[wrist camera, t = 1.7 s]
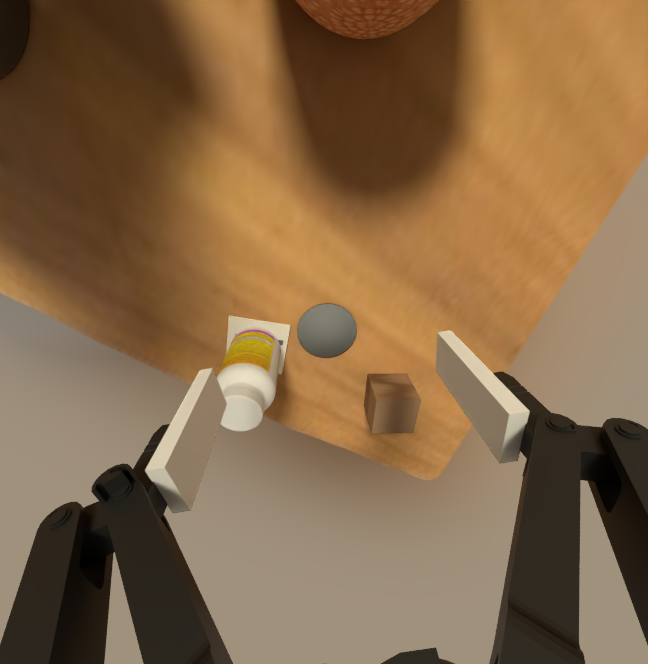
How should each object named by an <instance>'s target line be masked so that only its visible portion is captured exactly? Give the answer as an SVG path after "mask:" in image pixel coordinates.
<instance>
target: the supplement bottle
mask: <svg viewBox="0 0 648 664" xmlns="http://www.w3.org/2000/svg"><path fill="white" fill-rule="evenodd" d="M280 355H281V347H280V344H279V341H278V339H277V338H276V337H275V336H274V335H273V334H272V333H271V332H269V331H267V330H265V329H262V328H255V327H253V328H247V329H244V330H242V331H240V332H239V333H238V334H237V335H236V336H235V337H234V338H233V340H232V342H231V345H230V347H229V349H228V352H227V354H226V357H225V359H224V361H223V364H222V366H221V369H220V371H219V373H218V375H217V380H218V383H219V385H220V388H221V390H222V393H223V395H224V398H225V400H226V403H227V406H226V408H225V411H224V414H223V417H222V420H221V423H220V424H221V425H222V426H224V427H225V428H227V429H230V430H234V431H247V430H250V429H253V428H254V427H256V426H257V425H258V424H259V423H260V422H261V420H262V417H263V413H264V411H265V410H266V409H267V408H268V407H269V406H270V405H271V404H272V402H273V400H274V398H275V394H276V386H277V378H278V370H279V362H280Z"/></svg>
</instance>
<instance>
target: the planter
mask: <svg viewBox="0 0 648 664" xmlns="http://www.w3.org/2000/svg"><path fill="white" fill-rule="evenodd" d="M295 1H296V2H297V3H298V4H299V6H300V7H301V8H302V9H303V10H304V11H305V12H306V13H307V14H308V15H309V16H310V17H311V18H312V19H314V20H315V21H316V22H317V23H319V24H320V25H322V26H323V27H325V28H327V29H328V30H330V31H332V32H334V33H337V34H339V35H342V36H346V37H350V38H356V39H372V38H378V37H383V36H386V35H389V34H392V33H394V32H396V31H399V30H401V29H403V28H404V27H406V26H408V25H409V24H411V23H412V22H414V21H415V20H417V19H418V18H419V17H420V16H422V15H423V14H424V13H426V12H427V11H428V10H429V9H431V8H432V7H433V6H434V5H435V4H436V3H437V2H438V1H439V0H295Z"/></svg>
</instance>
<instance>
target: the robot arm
mask: <svg viewBox="0 0 648 664" xmlns="http://www.w3.org/2000/svg"><path fill="white" fill-rule="evenodd" d="M28 30H29V6H28V0H0V79H1V78H3V77H4V76H5V75H7V74H8V73H9V72H10V71H11V70H12V69H13V68H14V67H15V66H16V64H17V63H18V61H19V60H20V58H21V56H22V54H23V51H24V49H25V45H26V42H27V37H28ZM436 372H437V374H438V375H439V377H440V378H441V379H442V381H443V382H444V384H445V385H446V387H447V388H448V390H449V391H450V393H451V394H452V395H453V397H454V398H455V400H456V401H457V403H458V404H459V406H460V407H461V408H462V410H463V411H464V413H465V414H466V416H467V417H468V419H469V420H470V421H471V423H472V424H473V426H474V427H475V429H476V430H477V431H478V433H479V434H480V436H481V437H482V439H483V440H484V442H485V443H486V445H487V446H488V447H489V449H490V450H491V452H492V453H493V455H494V456H495V458H496V459H497V461H498V462H499V463H506V462H513V461H518V458H519V454H520V451H521V452H522V453H523V455H524V456H525V457H526V458H527V461H526V464H525V469H524V472H523V482H522V487H521V493H520V499H519V505H518V510H517V516H516V522H515V527H514V533H513V539H512V544H511V550H510V555H509V562H508V567H507V572H506V578H505V584H504V590H503V596H502V601H501V607H500V612H499V618H498V624H497V629H496V635H495V640H494V646H493V650H492V655H491V659H490V664H585V660H584V655H583V652H582V651H581V649H580V646H579V561H580V560H579V559H580V554H579V553H580V480H586V481H588V483H589V486H590V488H591V491H592V494H593V497H594V499H595V502H596V505H597V508H598V510H599V513H600V516H601V518H602V521H603V524H604V527H605V529H606V532H607V535H608V538H609V540H610V543H611V546H612V548H613V551H614V554H615V557H616V559H617V562H618V565H619V568H620V570H621V573H622V576H623V579H624V581H625V584H626V587H627V590H628V592H629V595H630V598H631V600H632V603H633V606H634V609H635V612H636V614H637V617H638V620H639V623H640V625H641V628H642V631H643V633H644V636H645V638H646V642H647V644H648V429H646V428H645V427H643V426H642V425H640V424H638V423H635V422H633V421H630V420H626V419H621V418H611V419H608V420H606V421H605V423H604V424H603V426H602V427H591V426H580V425H577V424H576V423H575V422H574V421H572V420H570V419H569V418H568V417H565V416H562V415H560V414H554V413H551V412H550V411H548V410H547V409H546V408H545V407H544V406H543V405H542V404H541V403H540V402H539V401H538V400H537V399H536V398H535V397H534V396H533V395H531V394H530V393H529V392H527V390H526V389H525V388H524V387H523V386H521V384H520V383H518V381H516V379H515V378H513V377H512V376H510V375H508V374H506V373H504V372H496V373H492V372H491V371H490V370H489V369H488V368H487V367H486V366H485V365H484V364H483V363H482V362H481V361H480V360H479V359H478V358H477V357H476V356H475V355H474V354H473V353H472V352H471V351H470V350H469V349H468V347H467V346H466V345H465V344H464V343H463V342H462V341H461V340H460V339H459V338H458V337H457V336H456V335H455V334H454V333H453V332H452V331H451V330H449V331H443V332H437V356H436ZM226 406H227V403H226V400H225V398H224V395H223V393H222V390H221V388H220V385H219V383H218V380H217V378H216V375H215V373H214V370H213V368H210V369H203V370H200V371H199V372H198V374H197V376H196V378H195V380H194V382H193V383H192V385H191V387H190V389H189V391H188V393H187V394H186V396H185V398H184V400H183V402H182V404H181V405H180V407H179V409H178V411H177V413H176V415H175V416H174V418H173V420H172V422H171V424H168V425H162V426H161V427H160V428H159V429H158V430H157V432H155V433H154V434H153V436H152V438H151V440H150V441H149V444H148V445H147V446H146V448H145V450H144V452H143V453H142V455H141V457H140V458H139V460H138V462H137V463H136V465H135V467H134V469H132V468H131V467H130V466H129V465H128V464H120V465H116V466H114V467H112V468H110V469H108V470H107V471H105V472H104V473H103V474H101V476H99V477H98V479H96V481H95V482H94V484H93V486H92V493H93V494H94V495H95V496H96V497H97V499H98V500H99V502H96V503H94V504H91V505H89V506H86V507H85V508H83V507H82V506H81V505H80V504H79V503H78V502H70V503H67V504H64V505H62V506H60V507H58V508H57V509H55V510H54V511H53V512H51V513H50V514H49V515H48V516H47V517H46V518H45V519H44V520H43V522H42V523H41V524H40V526H39V528H38V530H37V533H36V536H35V539H34V542H33V546H32V548H31V552H30V555H29V558H28V561H27V564H26V567H25V570H24V574H23V576H22V580H21V583H20V586H19V589H18V592H17V595H16V598H15V601H14V604H13V607H12V610H11V613H10V616H9V619H8V622H7V626H6V629H5V632H4V635H3V638H2V641H1V644H0V664H104V659H105V647H106V635H107V623H108V611H109V599H110V587H111V575H112V563H113V562H112V561H113V553H114V552H115V554H116V558H117V562H118V566H119V570H120V574H121V578H122V581H123V585H124V589H125V593H126V597H127V601H128V605H129V609H130V612H131V616H132V620H133V624H134V628H135V632H136V636H137V640H138V644H139V647H140V651H141V655H142V659H143V663H144V664H233V662H232V660H231V658H230V656H229V654H228V652H227V649H226V647H225V645H224V643H223V641H222V639H221V636H220V634H219V632H218V630H217V628H216V626H215V623H214V621H213V619H212V617H211V615H210V613H209V610H208V608H207V606H206V604H205V602H204V600H203V597H202V595H201V593H200V591H199V589H198V587H197V584H196V582H195V580H194V578H193V576H192V574H191V571H190V569H189V567H188V565H187V563H186V561H185V558H184V556H183V554H182V552H181V550H180V548H179V546H178V543H177V541H176V539H175V537H174V535H173V532H172V530H171V528H170V526H169V524H168V522H167V519H166V518H165V516H164V515H163V514H164V512H165V509H166V507H167V505H168V507H169V508H170V510H171V511H172V513H178V512H184V511H190V510H191V508H192V505H193V502H194V499H195V496H196V493H197V490H198V487H199V484H200V481H201V478H202V476H203V472H204V470H205V467H206V464H207V461H208V458H209V455H210V452H211V449H212V446H213V443H214V441H215V438H216V435H217V431H218V429H219V426H220V423H221V420H222V417H223V414H224V411H225V408H226ZM381 664H454V663H452V662H449V661H447V660H443V659H439V657H438V653H437V650H436V648H430V649H423V650H416V651H409V652H402V653H399V654H397V655H395V656H394V657H392V658H390V659H388V660H387V661H385V662H383V663H381Z"/></svg>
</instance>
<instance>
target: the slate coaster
mask: <svg viewBox="0 0 648 664" xmlns="http://www.w3.org/2000/svg"><path fill="white" fill-rule="evenodd" d="M297 332H298V339H299V341H300V343H301V345H302V346H303V348H304V349H305V350H306V351H308V352H309V353H311V354H313V355H315V356H319V357H333V356H337V355H339V354H341V353H343V352H345V351H346V350H347V349H348V348H349V347H350V346H351V345H352V344H353V342H354V340H355V337H356V332H357V328H356V323H355V320H354V318H353V316H352V315H351V313H350V312H349V311H348V310H346V309H345V308H343V307H341V306H339V305H336V304H320V305H317V306H314V307H312V308H310V309H309V310H308V311H307V312H305V313H304V315H303V316H302V317H301V319H300V321H299V324H298V330H297Z"/></svg>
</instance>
